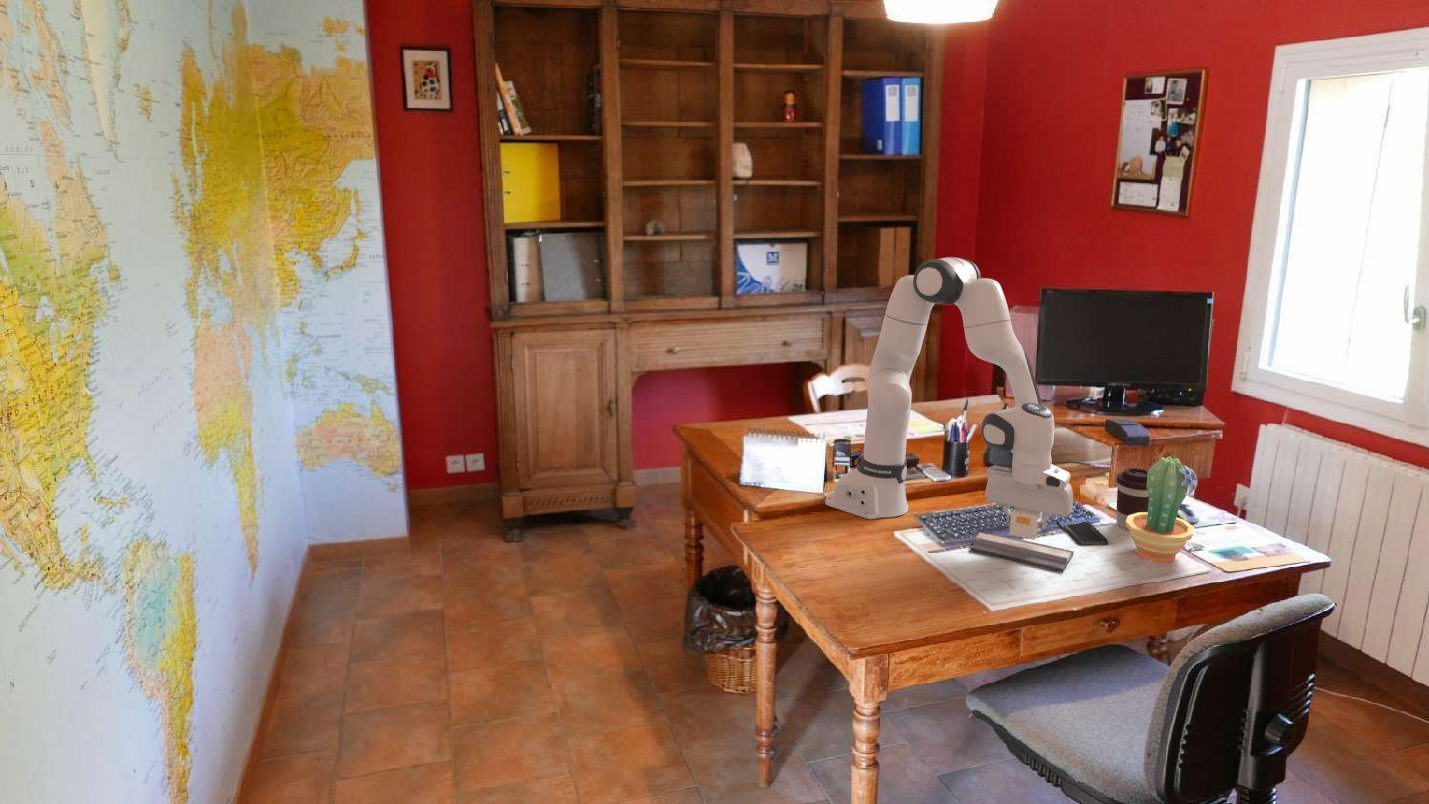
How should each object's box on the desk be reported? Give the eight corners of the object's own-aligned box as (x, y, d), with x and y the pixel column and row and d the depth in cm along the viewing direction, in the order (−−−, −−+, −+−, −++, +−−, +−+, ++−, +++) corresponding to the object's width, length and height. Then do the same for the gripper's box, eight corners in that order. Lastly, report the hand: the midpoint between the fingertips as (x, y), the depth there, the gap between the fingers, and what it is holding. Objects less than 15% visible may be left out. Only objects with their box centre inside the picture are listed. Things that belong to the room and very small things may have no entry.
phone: (1079, 542, 242) (1056, 518, 256) (1079, 546, 242) (1055, 522, 256) (1110, 542, 242) (1085, 517, 257) (1110, 546, 243) (1084, 521, 257)
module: (1008, 535, 235) (1010, 512, 233) (1015, 525, 240) (1017, 503, 238) (1034, 540, 232) (1036, 517, 230) (1040, 530, 237) (1042, 508, 236)
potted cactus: (1150, 572, 228) (1164, 472, 221) (1108, 544, 242) (1120, 450, 235) (1205, 564, 232) (1221, 466, 225) (1160, 538, 246) (1174, 444, 239)
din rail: (970, 551, 239) (971, 542, 238) (983, 535, 248) (984, 527, 247) (1062, 572, 228) (1063, 564, 227) (1073, 555, 237) (1074, 546, 236)
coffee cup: (1158, 534, 249) (1166, 479, 244) (1119, 533, 249) (1126, 478, 244) (1142, 518, 258) (1150, 465, 254) (1105, 518, 258) (1112, 465, 254)
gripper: (983, 467, 234) (979, 520, 238) (1071, 483, 224) (1065, 538, 228) (991, 459, 239) (986, 511, 243) (1077, 474, 229) (1071, 528, 233)
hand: (1025, 524), depth 236 cm, fingers closed on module, 6 cm apart
